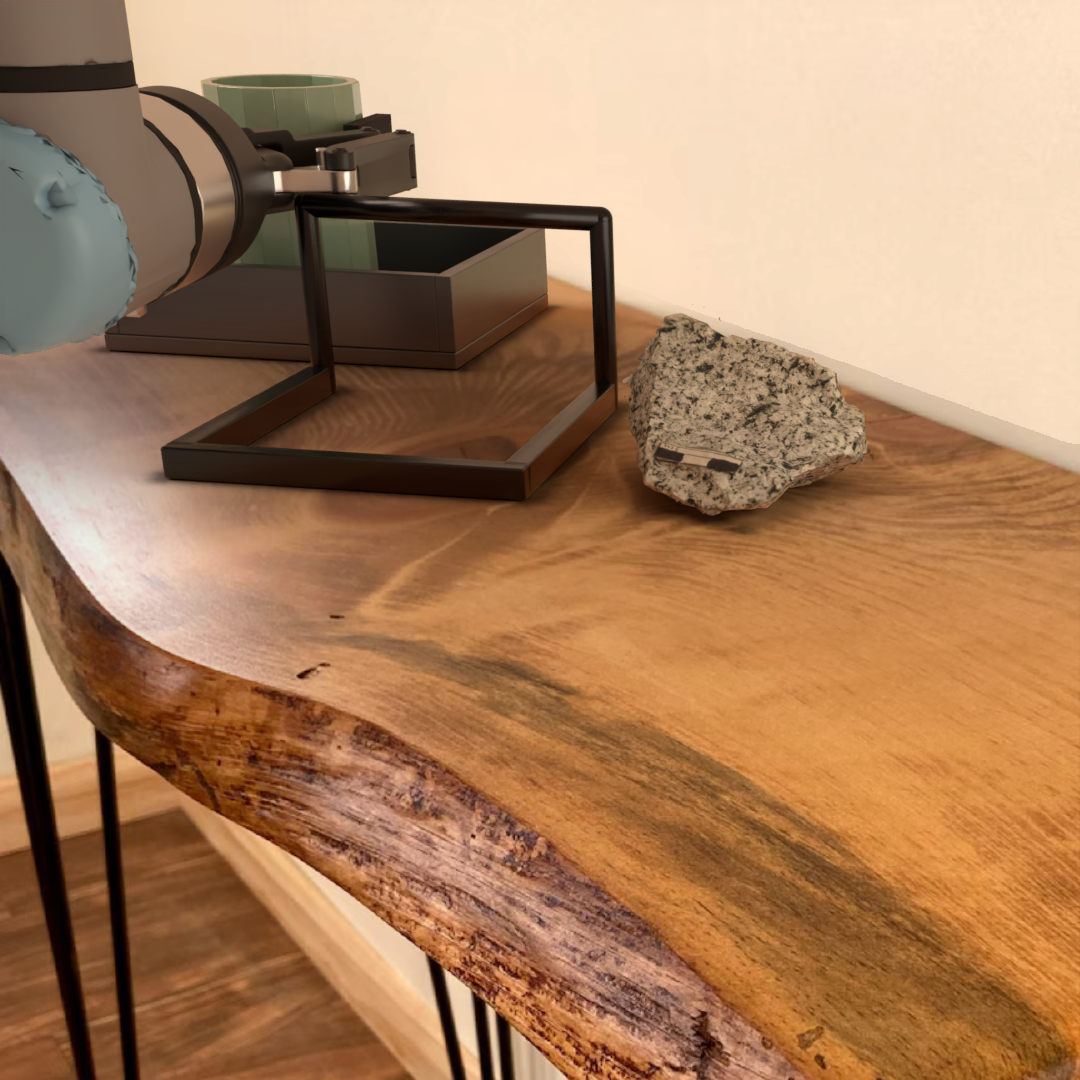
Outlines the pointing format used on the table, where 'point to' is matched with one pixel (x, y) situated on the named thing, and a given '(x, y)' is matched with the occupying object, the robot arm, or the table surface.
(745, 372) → the rock sample
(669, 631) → the table surface
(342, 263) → the cup
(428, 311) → the black shallow open box
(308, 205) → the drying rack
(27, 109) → the robot arm
